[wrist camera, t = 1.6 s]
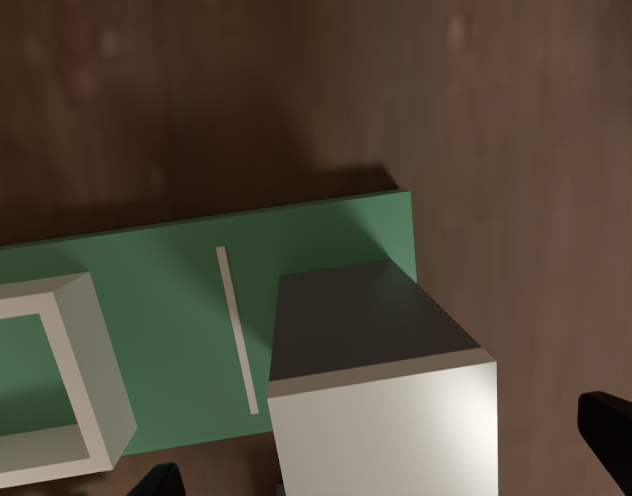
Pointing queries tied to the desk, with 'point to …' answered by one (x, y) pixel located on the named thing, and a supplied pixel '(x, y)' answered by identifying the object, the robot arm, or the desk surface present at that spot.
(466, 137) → the desk surface
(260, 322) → the board
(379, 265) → the plug
